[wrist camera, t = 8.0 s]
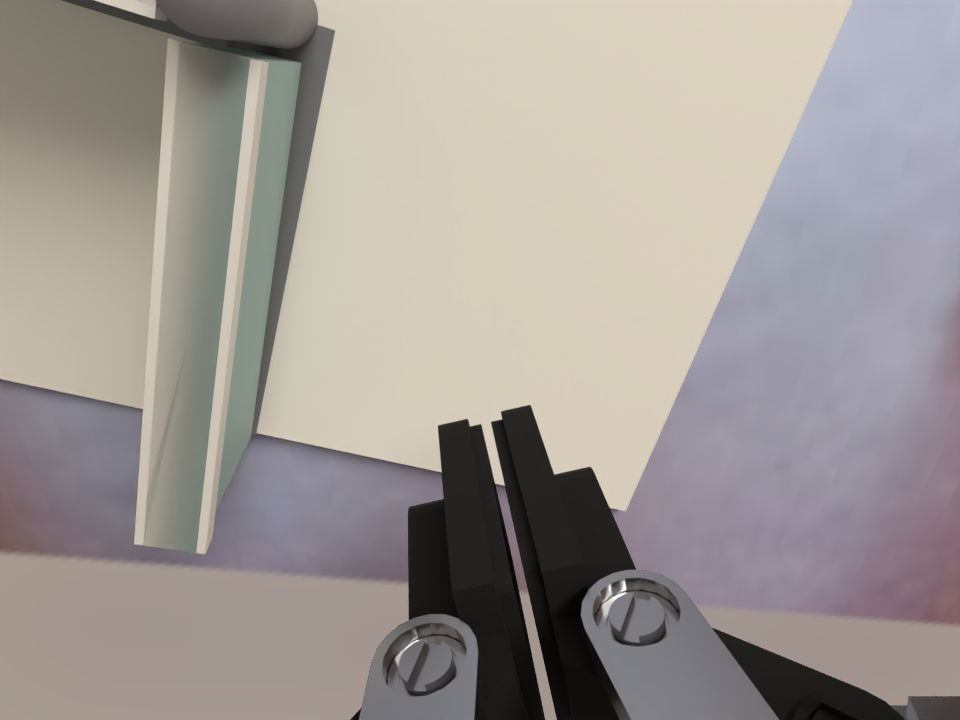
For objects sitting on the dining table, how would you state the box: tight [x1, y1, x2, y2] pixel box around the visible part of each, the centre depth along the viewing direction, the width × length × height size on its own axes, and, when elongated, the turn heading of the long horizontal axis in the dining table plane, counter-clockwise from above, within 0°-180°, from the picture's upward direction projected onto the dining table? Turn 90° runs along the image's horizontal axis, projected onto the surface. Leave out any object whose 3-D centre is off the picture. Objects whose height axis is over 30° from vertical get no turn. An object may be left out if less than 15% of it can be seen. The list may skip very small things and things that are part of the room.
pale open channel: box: [134, 38, 301, 554], centre depth 16 cm, size 2×11×6 cm, turn 166°
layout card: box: [0, 0, 853, 511], centre depth 18 cm, size 18×29×1 cm, turn 74°
